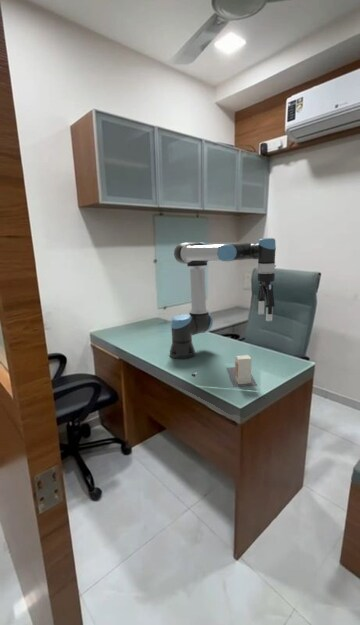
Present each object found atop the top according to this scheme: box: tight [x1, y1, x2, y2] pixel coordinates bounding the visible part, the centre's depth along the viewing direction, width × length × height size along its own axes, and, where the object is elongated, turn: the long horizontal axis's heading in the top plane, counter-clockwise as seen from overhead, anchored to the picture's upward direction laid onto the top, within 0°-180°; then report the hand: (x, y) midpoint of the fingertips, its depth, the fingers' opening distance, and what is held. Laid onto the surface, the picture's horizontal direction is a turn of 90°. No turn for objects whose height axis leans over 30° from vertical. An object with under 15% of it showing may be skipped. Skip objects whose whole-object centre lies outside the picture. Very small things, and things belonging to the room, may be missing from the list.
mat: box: [225, 366, 258, 388], centre depth 148 cm, size 22×11×1 cm, turn 0°
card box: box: [234, 354, 252, 384], centre depth 140 cm, size 6×4×12 cm
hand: (264, 317), depth 145 cm, fingers open, 13 cm apart
